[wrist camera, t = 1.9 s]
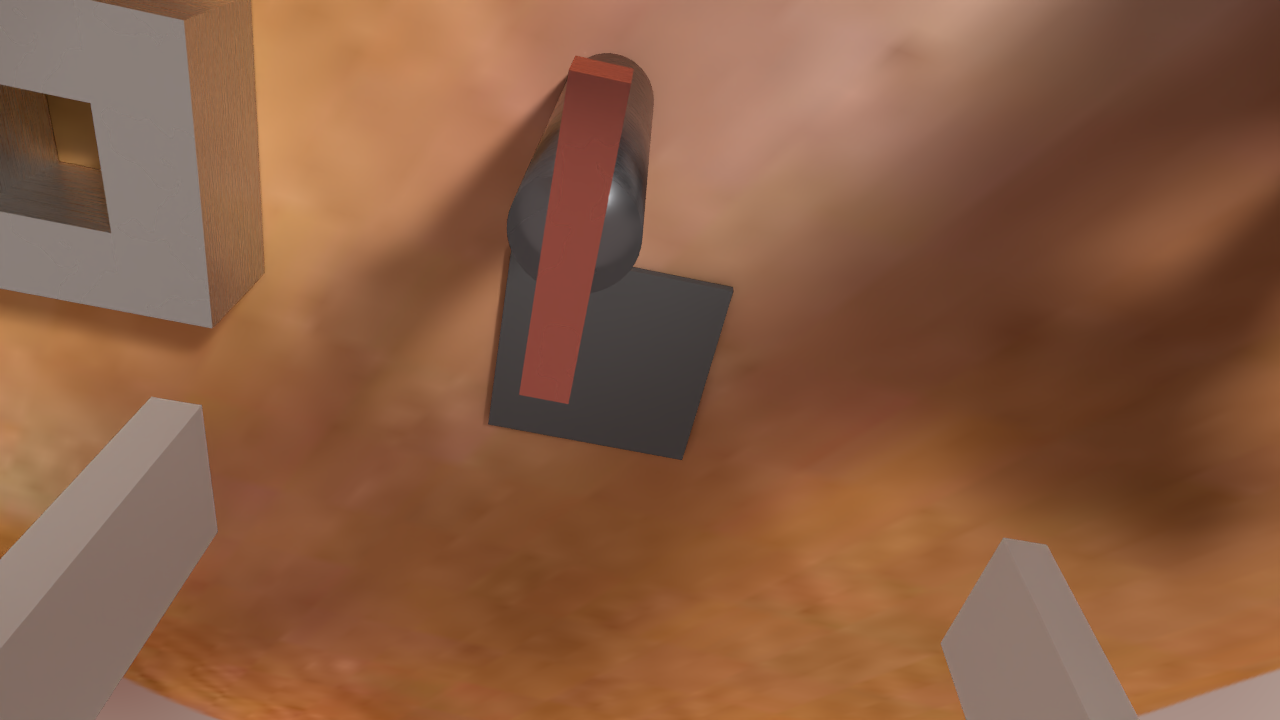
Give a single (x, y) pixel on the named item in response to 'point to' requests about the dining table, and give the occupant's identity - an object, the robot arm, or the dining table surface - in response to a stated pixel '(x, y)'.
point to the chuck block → (132, 156)
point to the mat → (618, 362)
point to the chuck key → (581, 210)
